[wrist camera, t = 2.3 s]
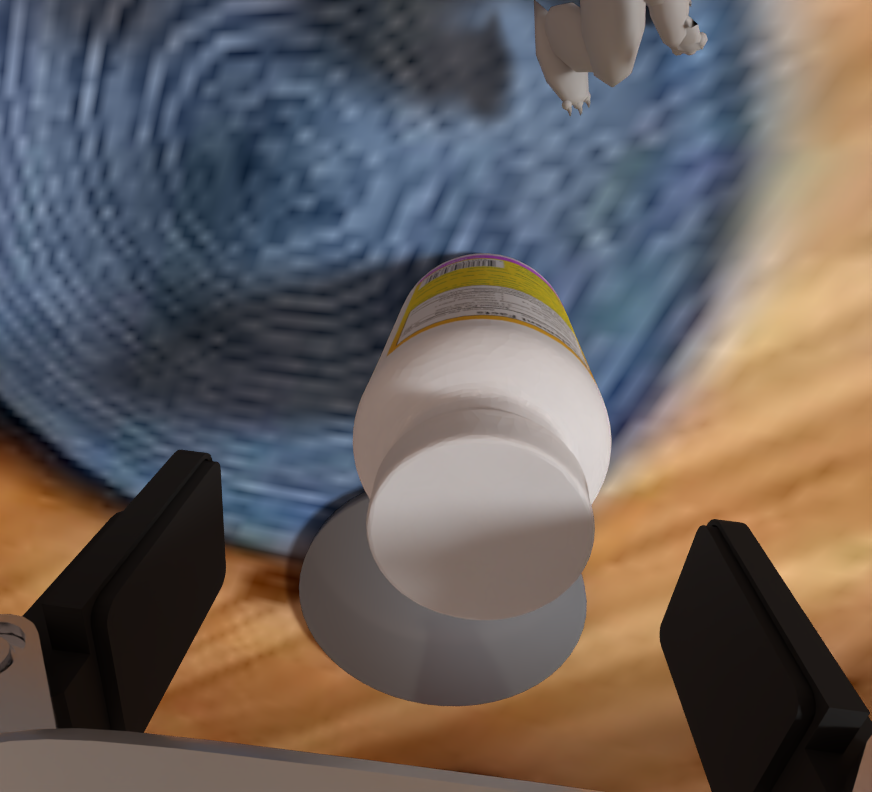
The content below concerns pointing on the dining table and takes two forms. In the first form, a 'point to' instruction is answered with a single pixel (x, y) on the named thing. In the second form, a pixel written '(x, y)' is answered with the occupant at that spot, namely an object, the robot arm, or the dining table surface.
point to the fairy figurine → (605, 41)
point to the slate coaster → (423, 627)
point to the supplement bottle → (481, 443)
